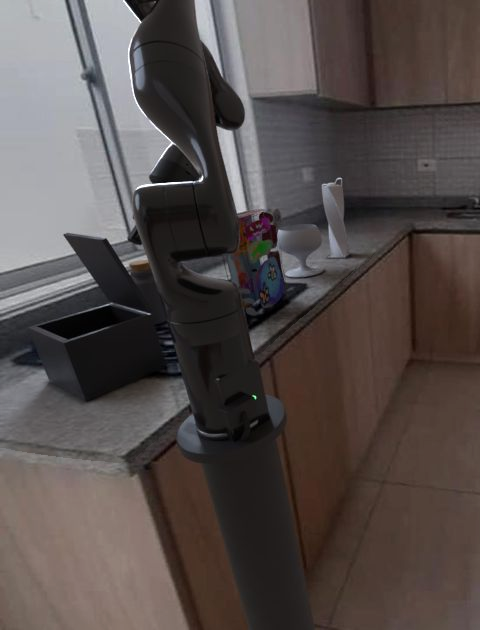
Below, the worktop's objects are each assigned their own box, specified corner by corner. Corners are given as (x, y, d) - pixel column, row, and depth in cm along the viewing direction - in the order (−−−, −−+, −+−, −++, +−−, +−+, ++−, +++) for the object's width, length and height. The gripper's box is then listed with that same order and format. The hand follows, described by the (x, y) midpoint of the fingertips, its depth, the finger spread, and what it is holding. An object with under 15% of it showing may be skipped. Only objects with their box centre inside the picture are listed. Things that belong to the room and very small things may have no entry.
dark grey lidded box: (86, 402, 74) (63, 343, 70) (49, 381, 82) (27, 327, 78) (167, 366, 85) (151, 314, 81) (127, 351, 93) (112, 302, 89)
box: (283, 290, 128) (268, 204, 119) (303, 290, 127) (289, 204, 118) (235, 323, 105) (213, 220, 96) (259, 323, 104) (238, 219, 95)
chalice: (275, 279, 139) (267, 232, 134) (292, 267, 152) (285, 223, 146) (317, 279, 137) (311, 231, 132) (331, 267, 150) (326, 222, 145)
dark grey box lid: (101, 240, 73) (106, 237, 73) (62, 234, 80) (67, 232, 81) (149, 313, 81) (152, 310, 81) (109, 301, 89) (113, 299, 89)
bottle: (162, 315, 113) (145, 258, 108) (175, 318, 110) (159, 260, 105) (138, 323, 109) (120, 264, 103) (152, 326, 106) (134, 266, 100)
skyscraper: (354, 253, 167) (346, 176, 157) (348, 259, 159) (339, 178, 149) (332, 254, 168) (323, 177, 158) (325, 259, 161) (315, 179, 150)
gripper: (145, 157, 89) (97, 229, 84) (182, 155, 82) (132, 233, 77) (176, 182, 95) (134, 250, 90) (213, 182, 88) (170, 256, 83)
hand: (133, 242), depth 84 cm, fingers closed
